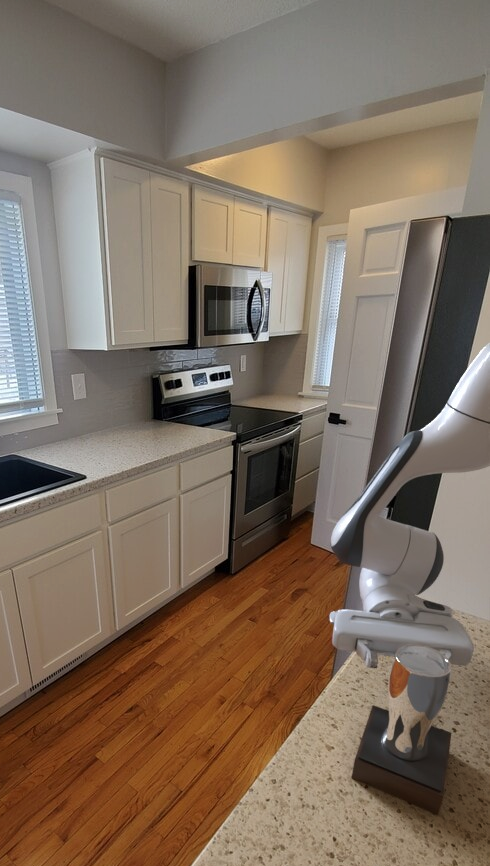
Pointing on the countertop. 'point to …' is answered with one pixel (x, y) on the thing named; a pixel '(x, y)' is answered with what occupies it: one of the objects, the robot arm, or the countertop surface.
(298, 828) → the countertop surface
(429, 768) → the riser
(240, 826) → the countertop surface
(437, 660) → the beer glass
